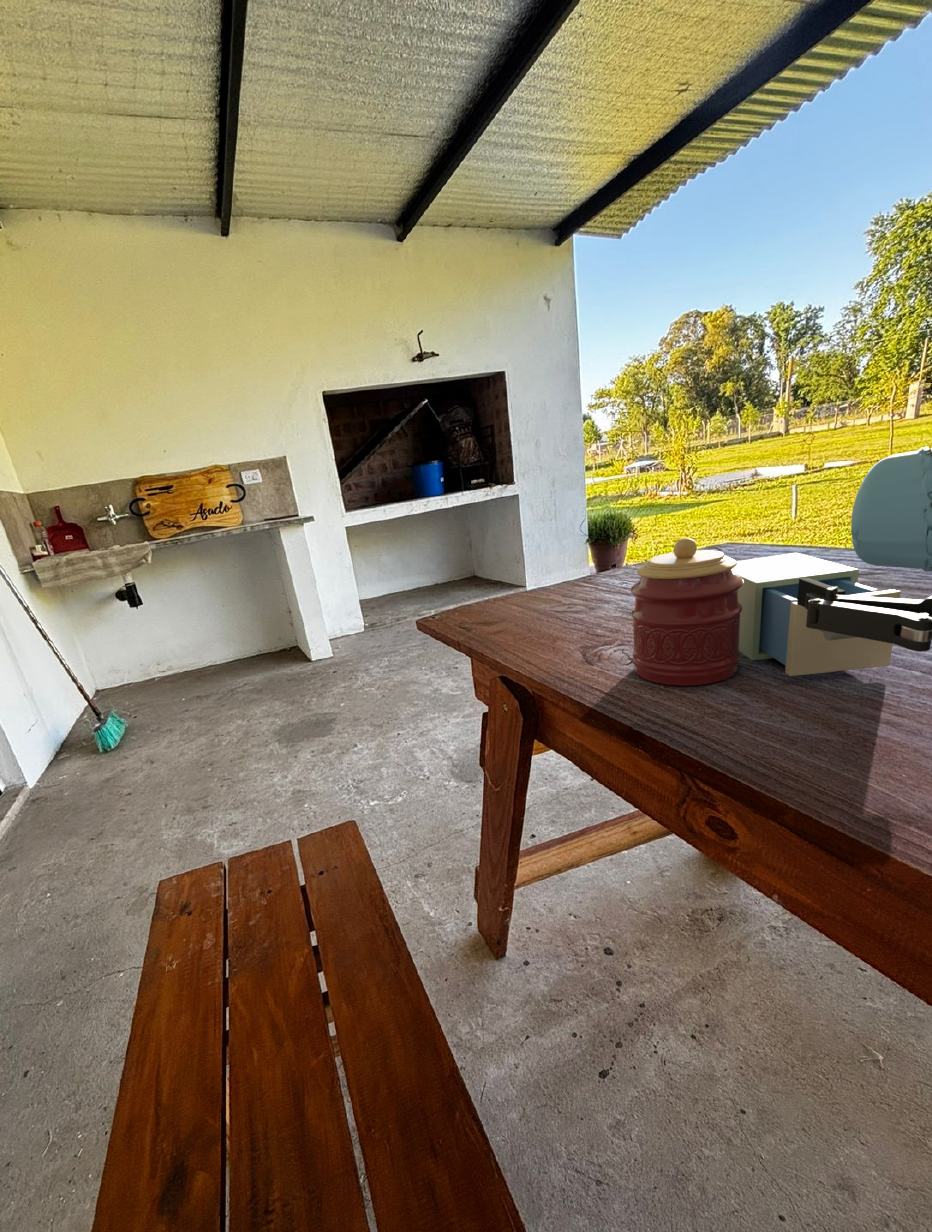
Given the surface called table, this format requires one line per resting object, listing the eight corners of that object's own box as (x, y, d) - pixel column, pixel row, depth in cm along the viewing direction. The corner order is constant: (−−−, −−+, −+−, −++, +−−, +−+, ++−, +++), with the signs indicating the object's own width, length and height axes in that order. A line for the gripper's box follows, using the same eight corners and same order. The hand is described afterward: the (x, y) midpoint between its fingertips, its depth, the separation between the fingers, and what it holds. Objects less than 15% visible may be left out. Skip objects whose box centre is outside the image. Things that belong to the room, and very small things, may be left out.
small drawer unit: (849, 650, 68) (859, 569, 65) (752, 660, 70) (756, 583, 67) (790, 620, 82) (796, 552, 78) (710, 630, 84) (712, 564, 80)
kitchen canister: (761, 665, 69) (770, 527, 62) (694, 696, 64) (697, 550, 58) (675, 647, 80) (675, 528, 74) (612, 672, 75) (607, 548, 69)
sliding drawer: (922, 682, 56) (936, 601, 53) (813, 692, 58) (821, 615, 55) (822, 633, 73) (828, 569, 70) (740, 642, 75) (743, 581, 72)
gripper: (869, 716, 38) (741, 632, 57) (1316, 674, 33) (1012, 598, 53) (883, 616, 35) (744, 563, 55) (1372, 555, 30) (1029, 521, 50)
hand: (875, 580), depth 54 cm, fingers open, 13 cm apart
